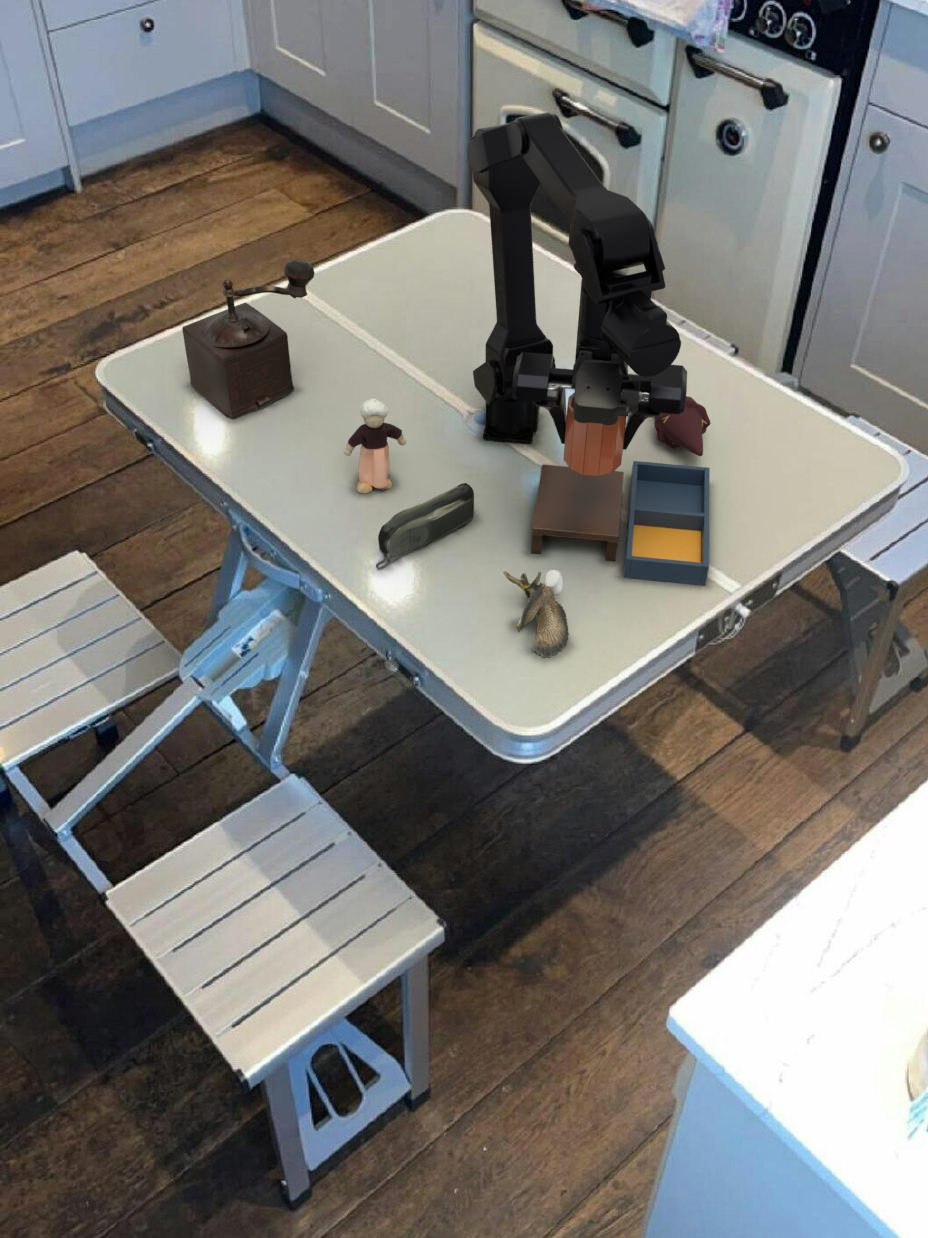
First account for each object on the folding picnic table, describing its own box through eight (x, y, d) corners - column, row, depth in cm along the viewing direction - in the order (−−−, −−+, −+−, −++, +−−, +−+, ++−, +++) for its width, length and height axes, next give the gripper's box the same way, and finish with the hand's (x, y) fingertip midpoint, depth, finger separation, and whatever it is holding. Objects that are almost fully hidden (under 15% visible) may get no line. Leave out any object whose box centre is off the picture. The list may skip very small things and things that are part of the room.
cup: (561, 472, 146) (565, 418, 141) (566, 437, 151) (570, 384, 145) (619, 478, 145) (626, 423, 140) (623, 442, 150) (629, 389, 145)
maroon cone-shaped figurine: (737, 432, 159) (695, 373, 170) (683, 427, 157) (645, 367, 168) (718, 480, 163) (678, 419, 174) (665, 475, 161) (628, 413, 172)
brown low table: (530, 553, 152) (532, 527, 150) (540, 489, 161) (542, 463, 158) (615, 561, 152) (618, 536, 149) (620, 496, 160) (623, 471, 157)
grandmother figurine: (356, 502, 159) (350, 418, 150) (343, 484, 161) (337, 400, 152) (412, 484, 161) (410, 400, 152) (399, 467, 164) (396, 383, 155)
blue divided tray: (623, 577, 150) (626, 558, 148) (630, 479, 162) (633, 460, 160) (705, 585, 149) (709, 566, 147) (706, 486, 162) (709, 467, 159)
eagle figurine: (484, 599, 145) (502, 644, 138) (518, 549, 142) (538, 593, 135) (539, 621, 149) (559, 667, 141) (573, 573, 146) (595, 617, 138)
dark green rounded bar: (463, 476, 155) (365, 528, 148) (480, 488, 153) (381, 541, 146) (462, 508, 158) (366, 560, 151) (478, 520, 157) (382, 573, 149)
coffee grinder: (233, 423, 170) (215, 303, 157) (189, 385, 176) (168, 267, 163) (329, 380, 177) (319, 262, 164) (283, 345, 183) (271, 228, 170)
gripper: (508, 360, 131) (503, 481, 142) (693, 376, 129) (674, 497, 140) (520, 303, 139) (515, 421, 150) (694, 317, 137) (676, 435, 148)
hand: (593, 444), depth 147 cm, fingers closed on cup, 6 cm apart
